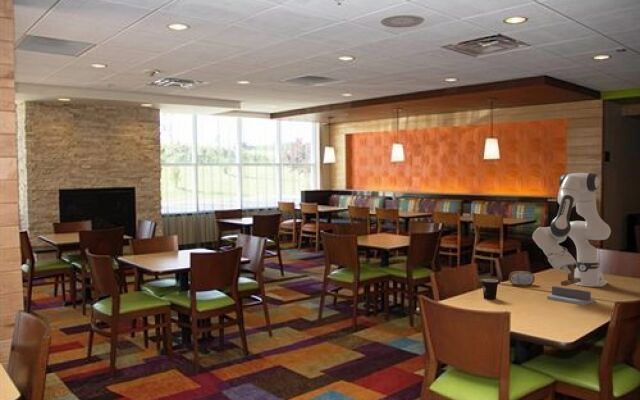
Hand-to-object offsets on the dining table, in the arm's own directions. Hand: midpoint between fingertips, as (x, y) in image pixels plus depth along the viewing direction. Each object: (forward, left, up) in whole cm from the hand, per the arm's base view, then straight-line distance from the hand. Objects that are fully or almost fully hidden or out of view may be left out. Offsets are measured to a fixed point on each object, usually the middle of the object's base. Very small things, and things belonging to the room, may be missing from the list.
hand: (572, 272), depth 287 cm
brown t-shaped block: (0, -1, -6) cm, 6 cm away
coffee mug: (+28, -33, -15) cm, 46 cm away
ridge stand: (0, -1, -15) cm, 15 cm away
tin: (-17, -39, -15) cm, 45 cm away
